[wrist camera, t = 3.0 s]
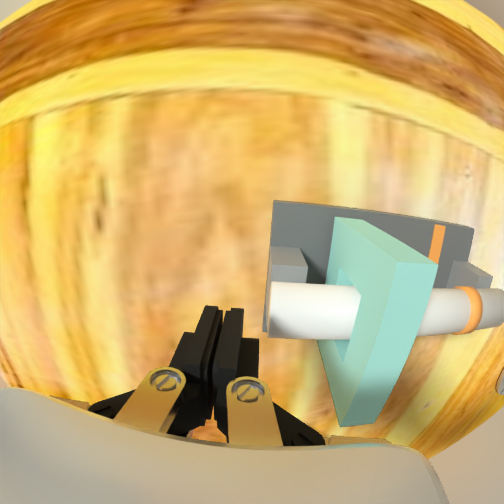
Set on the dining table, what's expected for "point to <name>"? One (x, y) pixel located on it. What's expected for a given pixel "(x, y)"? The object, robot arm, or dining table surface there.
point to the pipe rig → (347, 297)
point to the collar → (373, 316)
